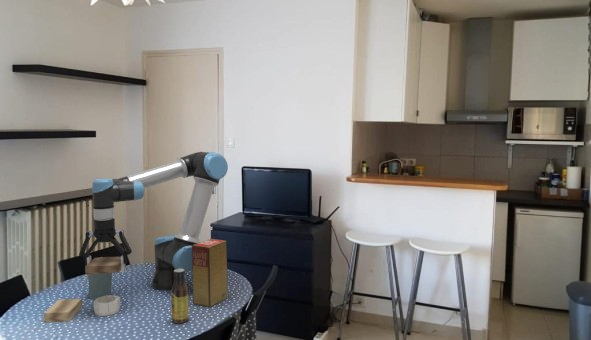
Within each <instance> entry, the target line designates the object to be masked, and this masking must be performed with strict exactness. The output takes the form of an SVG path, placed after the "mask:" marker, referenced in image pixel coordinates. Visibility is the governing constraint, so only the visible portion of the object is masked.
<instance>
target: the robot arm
mask: <svg viewBox="0 0 591 340" xmlns="http://www.w3.org/2000/svg"><path fill="white" fill-rule="evenodd" d="M228 165H229V164H228V162H227V160H226V158H225V156H224V155H222V154H220V153H217V152H215V151H214V152H213V151H212V152H205V151H198V152H194V153H191V154H188V155H185V156H182V157H179V158H177V159H176V161H173V162H169V163H166V164H162V165H160V166H156V167H154V168H149V169H145V170H143V171H139V172H136V173H132V174H130V175H126V176H123V177H119V178H97V179H94V180H93V181H92V185H91V186H92V187H91V193H92V204H93V205H92V207H93V208H92V210H93V231H91V230H89V231H88V230H87V231H86V232H85V239H84V242H83V243H82V246H81V248H80V251H79V254H78V256H79V257H83V259H84V266H86V265H87V264H88V263H90V262H91V261H92V255H91V253H92V252H93V251H94V249H95V248H96V247H97V245H98V244H99V243H102V244H103V243H111V244H112V245H113V246H114V247H115V248H116V249H117V251H118V252H119V253H120V254H121V256H120V257H121V270H120V272H121V274H123V273H125V272H126V264H127V263H128V256H129V255H131V254H132V253H133V251H132V250H133V249H131V246H130V244H129V242H128V239H126V236H125V231H124V229H121V230H116V222H115V218H114V217H115V203H119V202H121V203H122V202H130V201H131V202H132V201H138V200H142V199H143V198H144V196H145V189H147V188H150V187H154V186H157V185H160V184H162V183H166V182H169V181H173V180H175V179H178V178H179V179H180V178H181V177H182V178H184V179H185V178H189V177H193V180H194V186H193V189H192V191H191V195H190V198H189V201H188V205H187V208H186V210H185V214H184V216H183V220H182V223H181V227H180V230H179V232H178V233H177V234H171V235H163V236H158V237H156V238H155V239H154V245H153V246H154V271H153V275H152V278H151V288H152V289H153V290H158V291H169V290H170V291H171V290H172V287H173V284H174V270H176V269H184V270H185V273H186V272H190V271H193V267H192V245H195V244H198V243H201V242H200V240H199V236H200V234H201V229H202V227H203V224H204V221H205V217H206V214H207V210H208V207H209V204H210V201H211V198H212V195H213V191H214V188H215V187H217V186H218V185H219V183H220V180H221V179H223V178H224V177H225V176H226V174H227V173H228V169H229V168H228V167H229V166H228ZM116 235H117V236H118V237H119V240H120V242H121V243H122V244H121V243H120V242H119V241H118V239H117V238H116V237H115V236H116ZM92 237H94V238H95V240H94V241H93V243H92V244H91V245H90V246H89V248H88V245H89V242H90V241H91V238H92ZM87 248H88V249H87ZM86 250H87V251H86ZM184 279H185V280H186V278H185V276H184Z"/></svg>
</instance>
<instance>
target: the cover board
mask: <svg viewBox="0 0 591 340" xmlns="http://www.w3.org/2000/svg"><path fill="white" fill-rule="evenodd" d="M84 272H85V273H84V274H85V275H88V274H103V273H112V274H118V273H120V272H121V256H104V257H103V256H100V257H98V256H97V257H94V258H93V259H91V262H90V263H88V264H87V265H84Z"/></svg>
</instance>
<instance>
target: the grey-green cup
mask: <svg viewBox="0 0 591 340" xmlns="http://www.w3.org/2000/svg"><path fill="white" fill-rule="evenodd" d="M87 279H88V280H87V281H88V291H89V299H93V300H95V299H96V298H99V297H102V296H107V295H112V280H113V273H103V274H87Z"/></svg>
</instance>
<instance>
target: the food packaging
mask: <svg viewBox="0 0 591 340" xmlns="http://www.w3.org/2000/svg"><path fill="white" fill-rule="evenodd" d="M227 244H228V243H227V240H223V239H217V238H216V239H215V238H210V239H206V240H204V241H201V242H200V243H198V244H195V245H192V267H193V269H192V290H193V291H192V301H193V302H192V304H193V305H196V306H202V307H207V308H212V307H213V306H215V305H217V304H218V303H220V302H222V301H224V300H226V299H228V298H229V296H228V292H229V291H228V253H227V252H228V248H227Z"/></svg>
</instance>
